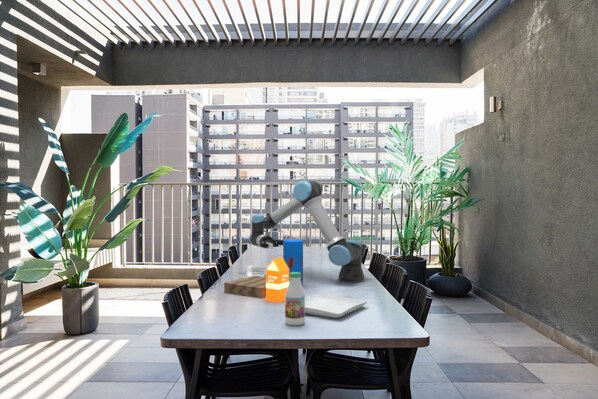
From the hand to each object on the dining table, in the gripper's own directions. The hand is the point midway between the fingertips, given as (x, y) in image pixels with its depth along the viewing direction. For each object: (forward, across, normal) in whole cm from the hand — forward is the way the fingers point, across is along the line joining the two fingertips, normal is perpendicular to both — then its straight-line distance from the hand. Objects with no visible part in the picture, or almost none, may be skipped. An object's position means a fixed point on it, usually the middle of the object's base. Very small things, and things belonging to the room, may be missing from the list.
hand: (282, 245), depth 266 cm
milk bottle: (+72, +36, -21) cm, 83 cm away
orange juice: (+33, +22, -21) cm, 45 cm away
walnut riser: (+11, +21, -21) cm, 32 cm away
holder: (-32, +1, -23) cm, 39 cm away
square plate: (+61, +13, -21) cm, 66 cm away
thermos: (+11, 0, -21) cm, 24 cm away
